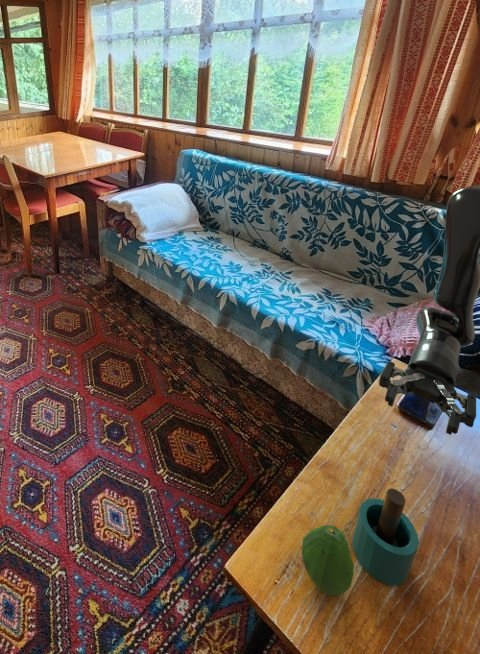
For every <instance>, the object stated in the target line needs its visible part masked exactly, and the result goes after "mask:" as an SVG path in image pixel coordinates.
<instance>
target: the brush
mask: <svg viewBox="0 0 480 654" xmlns="http://www.w3.org/2000/svg"><path fill="white" fill-rule="evenodd" d="M383 500H384V504H383V508H382V511H381V515H380V519H379V523H378V526H373V527H371V529H372V530H373V532H374V533H375V534H376V535H377V536H378V537H379V538H380V539H381V540H383V541H384V542H385V543H387V544H390V545H392V546H394V547H399V545H398V542H397V540H396V538H395V536H396V532H397V529H398V526H399V522H400V519H401V515H402V513H404V509H405V505H406V498H405V496H404V495H403V493H402V492H400V491H399V490H398V489H396V488H392V487H391V488H390V487H389V488H388V489H387V490H386V493H385V497H384V499H383Z"/></svg>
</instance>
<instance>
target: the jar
mask: <svg viewBox="0 0 480 654" xmlns="http://www.w3.org/2000/svg"><path fill="white" fill-rule="evenodd" d="M384 500H385V499H381V498H373V497H372V498H367V499H365V500H364V501H362V502H361V503H360V506H359V509H358V513H357V517H356V523H355V526H354V530H353V534H352V549H353V552H354V554H355V557H356V560H358V562H359V564H360V565H361V566H362V568H363V569H364V570H365V571H366V572H367V573H368V574H369V575H370V576H371V577H373V578H374V579H376V580H377V581H379V582H380V583H382V584H384V585H387V586H391V587H397V586H401V585H403V584H404V583H405V582H406V581H407V579H408V578H409V574H410V572H411V568H412V566H413V563H414V560H415V557H416V554H417V551H418V547H419V543H420V542H419V534H418V533H417V530H416V528H415V526H414V524H413V522H412V521H411V520H410V519H409V517H408V516H406V514H405V513H404V512H402V515H401V519H400V522H399V526H398V529H397V532H396V536H395V538H396V540H397V542H398V545H399V547H394V546H392V545H390V544H387V543H385V542H384V541H383V540H381V539H380V538H379V537H378V536H377V535H376V534H375V533H374V532H373V530H372V529H371V527H373V526H378V523H379V519H380V515H381V511H382V508H383V504H384Z"/></svg>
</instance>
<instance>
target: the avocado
mask: <svg viewBox="0 0 480 654" xmlns="http://www.w3.org/2000/svg"><path fill="white" fill-rule="evenodd" d="M301 557H302V563H303V565H304V568H305V570H306V573H307V575H308V577H309V578H310V580H311V582H312V583H313V584H314V586H315V587H316V588H317V589H318V590H319V591H320V592H322V593H323V594H325V595H326V596H328V597H339V596H342V595H344V594H345V593H346V592H347V591H348V590H349V589H350V588H351V586H352V583H353V580H354V579H353V578H354V570H355V569H354V567H355V564H354V562H353V558H352V554H351V551H350V548H349V545H348V541H347V538H346V536H345V535H344V533H343V531H341V530H340V529H339V528H338V527H337V526H335V525H331V524H325V525H321V526H319V527H315V528H313V529H312V530H310V531H309V532H308V533H307V534H306V535H305V536H304V537H303V539H302V546H301Z"/></svg>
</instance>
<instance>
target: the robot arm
mask: <svg viewBox="0 0 480 654" xmlns="http://www.w3.org/2000/svg"><path fill="white" fill-rule="evenodd" d="M444 225H445V227H444V240H443V241H444V243H443V254H442V262H441V267H440V270H439V274H438V277H437V281H436V285H435V287H434V288H435V289H434V291H433V301H434V302H435V304H437V306H439V307H440V308H442V309H444V310H442V309H439V308H436V307H430V306H428V307H424V308H422V309H420V310H419V312H418V313H417V316H416V321H415V323H416V329H417V333H418V335H419V338H418V341H417V343H416V345H415V347H414V349H413V351H412V354H411V356H410V358H409V362H408V364H407V367H406V368H405V369H402V368H398V367H397V366H396V363H395V362H393V361H391V360H389V361H387V363H386V365H385V367H383V370H382V372H381V373H380V375H379V381H378V386H379V387H381V388H385V389H386V393H385V397H384V400H385V402H387V406H388V407H391V408H392V407H393V406H394V403H395V400H396V398H397V395H399V394H402V395H409V394H410V395H411V394H413V396H415V397H418V398H421V399H424V400H426V401H427V402H429V403H432V404H436V405H437V406H438V408H439V409H440V411H441V412H442V413H443V414H445V415H447V417H448V420H447V424H446V430H445V434H448V435H449V436H452V434H454V435H456V434H458V431H459V428H460V423H461V424H464V425H465V426H467V427H469V428H473V427H474V424H475V423H474V422H475V421H476V419H477V397H476V395H474V394H472V393H468V394H466V395H467V396H466V395H465V394H461V393H459V392H457V390H456V389H455V387H456V381H457V377H458V371H459V366H460V365H459V358H460V355H461V348H466V347H468V346H470V345H471V344H472V343H474V340H475V336H476V329H475V323H474V307H475V303H476V300H477V296H478V293H479V291H480V261H479V259H480V257H479V256H480V183H477V184H475V185H473V184H472V185H470V186H466V187H463V188H460V189H458V190H456V191H454V192H453V193H452V194H451V195H450V196H449V198H448V200H447V204H446V209H445V223H444ZM445 310H446V311H445ZM398 376H399V377H400V378H398V379H395V378H396V377H398ZM456 401H458V402H459V404H460V406H461V408H462V409H464V411H462V410H461V408H460V407H459V406H458V404H456Z"/></svg>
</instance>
